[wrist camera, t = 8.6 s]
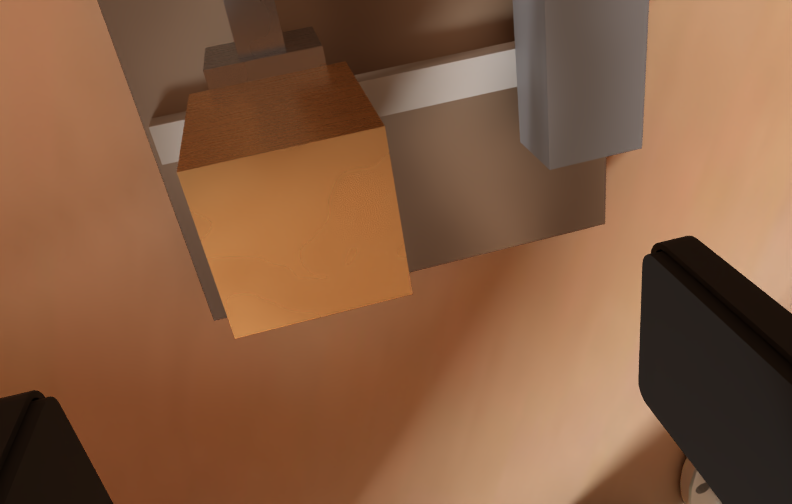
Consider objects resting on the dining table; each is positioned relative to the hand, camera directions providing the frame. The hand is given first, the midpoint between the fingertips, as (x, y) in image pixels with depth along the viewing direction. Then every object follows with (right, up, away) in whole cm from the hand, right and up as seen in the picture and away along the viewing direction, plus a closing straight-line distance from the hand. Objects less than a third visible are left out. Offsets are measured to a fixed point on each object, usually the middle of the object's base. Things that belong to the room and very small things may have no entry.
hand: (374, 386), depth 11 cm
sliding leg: (-4, +9, +8) cm, 13 cm away
